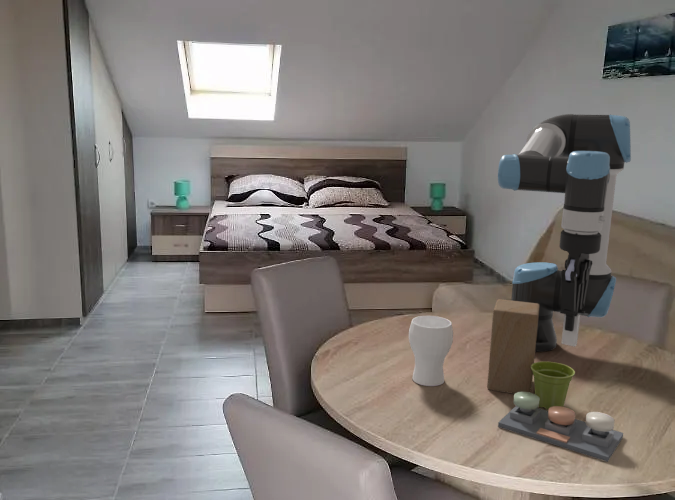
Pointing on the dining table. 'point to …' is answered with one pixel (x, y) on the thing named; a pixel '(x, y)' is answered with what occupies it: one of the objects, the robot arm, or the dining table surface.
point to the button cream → (599, 422)
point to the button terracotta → (561, 415)
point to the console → (562, 433)
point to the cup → (430, 348)
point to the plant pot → (551, 382)
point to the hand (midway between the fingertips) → (569, 344)
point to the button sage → (526, 401)
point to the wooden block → (512, 346)
